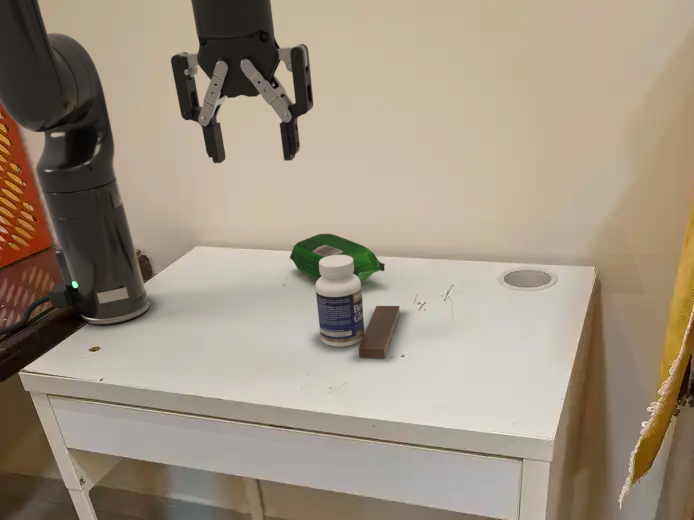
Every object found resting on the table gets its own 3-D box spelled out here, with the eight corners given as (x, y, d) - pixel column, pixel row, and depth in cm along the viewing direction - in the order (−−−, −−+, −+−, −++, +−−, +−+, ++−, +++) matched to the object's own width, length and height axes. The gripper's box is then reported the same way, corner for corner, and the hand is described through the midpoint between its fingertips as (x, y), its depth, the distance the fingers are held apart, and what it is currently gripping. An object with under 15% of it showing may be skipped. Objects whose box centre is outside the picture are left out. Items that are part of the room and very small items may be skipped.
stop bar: (359, 357, 84) (358, 348, 83) (376, 314, 93) (376, 305, 92) (384, 358, 83) (384, 349, 82) (399, 314, 92) (399, 305, 92)
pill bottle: (365, 346, 86) (359, 267, 80) (320, 349, 86) (311, 270, 80) (364, 327, 90) (359, 250, 84) (322, 330, 90) (313, 253, 85)
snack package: (347, 301, 97) (344, 263, 94) (286, 271, 108) (282, 236, 105) (388, 287, 100) (387, 250, 97) (326, 259, 111) (323, 225, 108)
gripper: (310, -32, 69) (326, 149, 79) (172, -20, 72) (204, 154, 82) (290, -28, 64) (310, 167, 73) (141, -15, 66) (179, 171, 76)
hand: (254, 160), depth 78 cm, fingers open, 7 cm apart
